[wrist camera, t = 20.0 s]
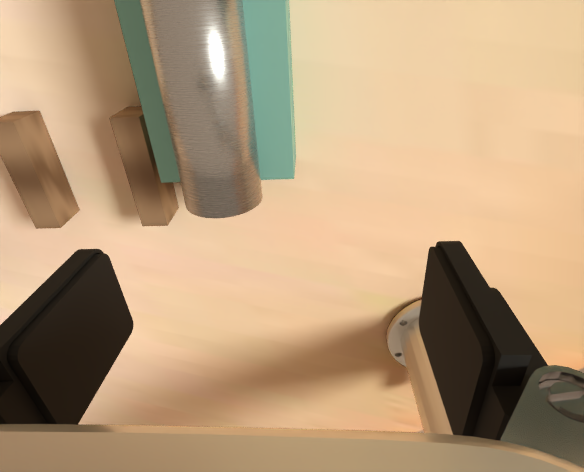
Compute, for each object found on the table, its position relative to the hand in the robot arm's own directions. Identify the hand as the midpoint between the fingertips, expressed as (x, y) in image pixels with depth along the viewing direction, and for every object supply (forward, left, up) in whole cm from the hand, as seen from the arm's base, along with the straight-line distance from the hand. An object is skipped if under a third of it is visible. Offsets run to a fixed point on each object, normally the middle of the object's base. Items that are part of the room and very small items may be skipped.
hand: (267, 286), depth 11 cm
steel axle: (+3, +6, -18) cm, 19 cm away
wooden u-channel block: (-5, +19, -24) cm, 31 cm away
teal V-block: (+2, +6, -24) cm, 25 cm away
